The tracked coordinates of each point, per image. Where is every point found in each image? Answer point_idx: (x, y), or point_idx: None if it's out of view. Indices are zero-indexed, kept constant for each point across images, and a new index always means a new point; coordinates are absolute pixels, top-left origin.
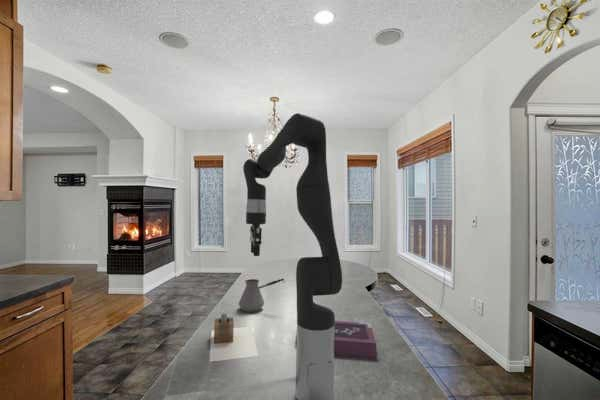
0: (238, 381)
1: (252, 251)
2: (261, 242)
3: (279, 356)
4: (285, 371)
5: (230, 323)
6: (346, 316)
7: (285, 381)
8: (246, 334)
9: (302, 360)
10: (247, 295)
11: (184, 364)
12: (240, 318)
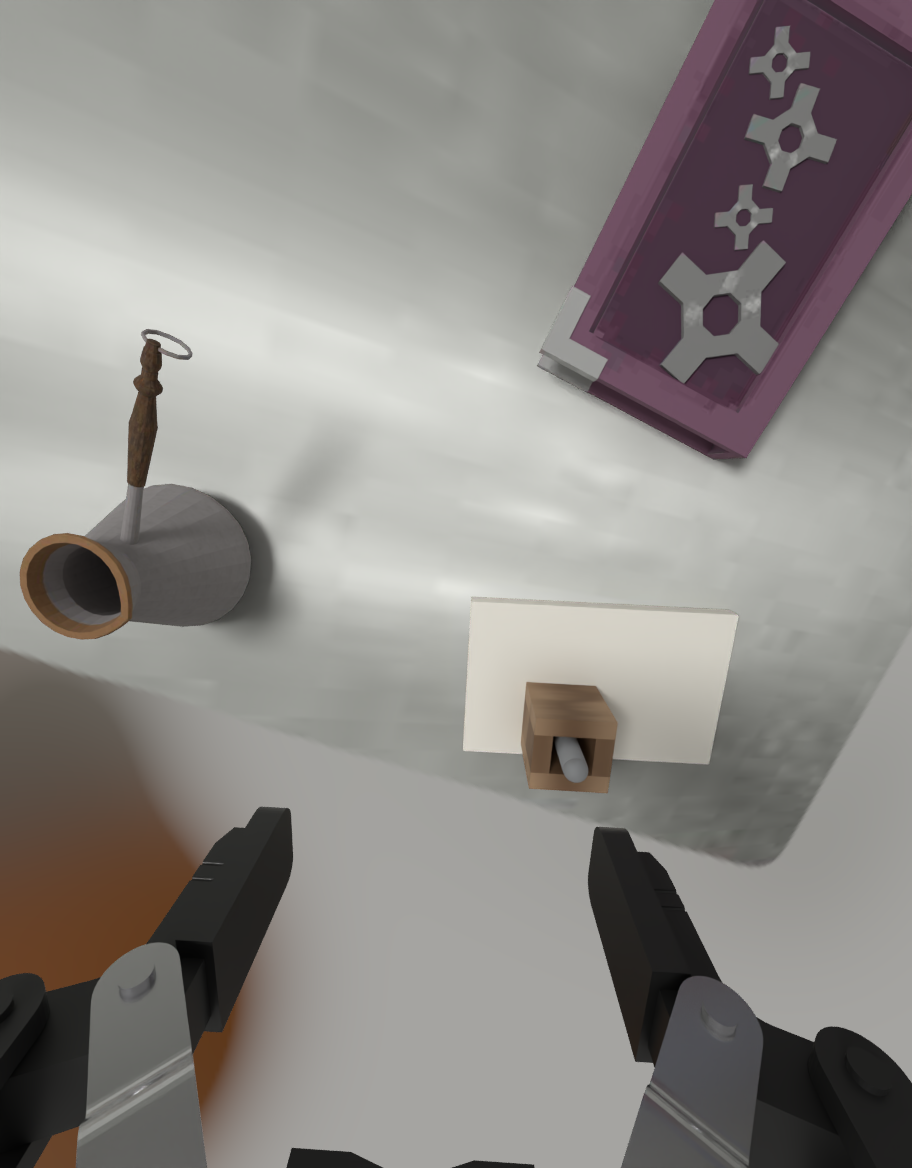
0: (815, 684)
1: (283, 868)
2: (886, 1074)
3: (727, 532)
4: (831, 537)
5: (613, 734)
6: None
7: (884, 553)
8: (545, 630)
9: None
10: (187, 602)
11: (654, 815)
12: (317, 619)
